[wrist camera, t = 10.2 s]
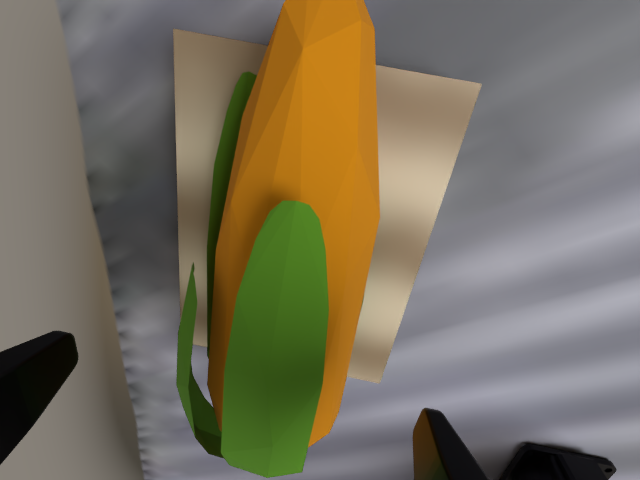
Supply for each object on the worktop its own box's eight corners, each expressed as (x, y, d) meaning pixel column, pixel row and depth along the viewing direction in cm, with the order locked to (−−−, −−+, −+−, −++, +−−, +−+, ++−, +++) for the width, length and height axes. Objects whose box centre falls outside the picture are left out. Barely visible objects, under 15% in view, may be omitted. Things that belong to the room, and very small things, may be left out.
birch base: (377, 347, 22) (379, 383, 19) (202, 311, 22) (181, 341, 19) (459, 85, 15) (481, 83, 12) (206, 39, 15) (173, 28, 13)
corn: (150, 525, 13) (50, -201, 5) (213, 374, 20) (219, -30, 12) (331, 548, 13) (551, -108, 5) (332, 391, 20) (424, 6, 12)
